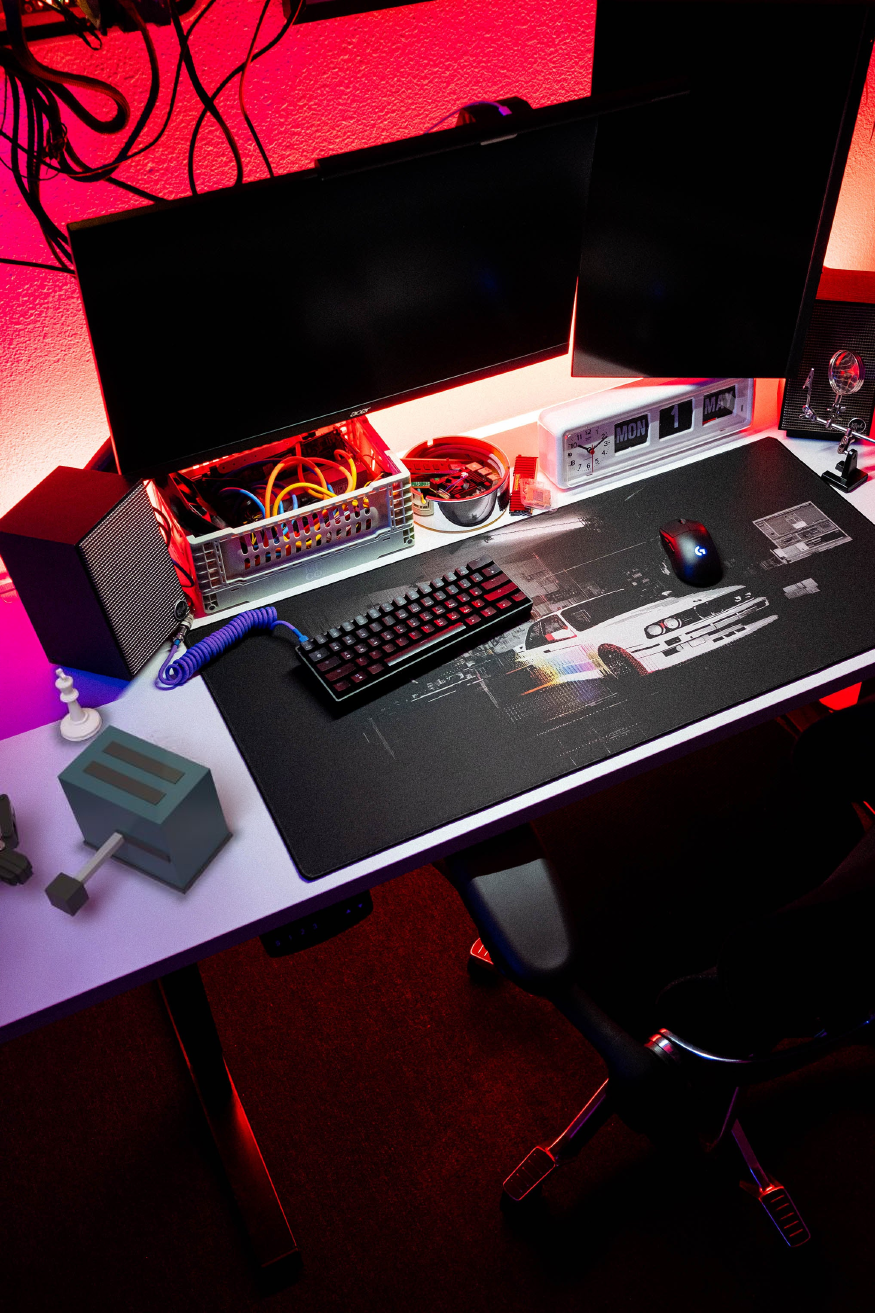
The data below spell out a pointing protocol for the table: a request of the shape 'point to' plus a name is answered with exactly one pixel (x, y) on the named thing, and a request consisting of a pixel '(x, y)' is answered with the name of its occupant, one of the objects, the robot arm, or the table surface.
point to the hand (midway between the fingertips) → (26, 874)
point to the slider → (79, 880)
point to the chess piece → (76, 712)
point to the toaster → (147, 807)
